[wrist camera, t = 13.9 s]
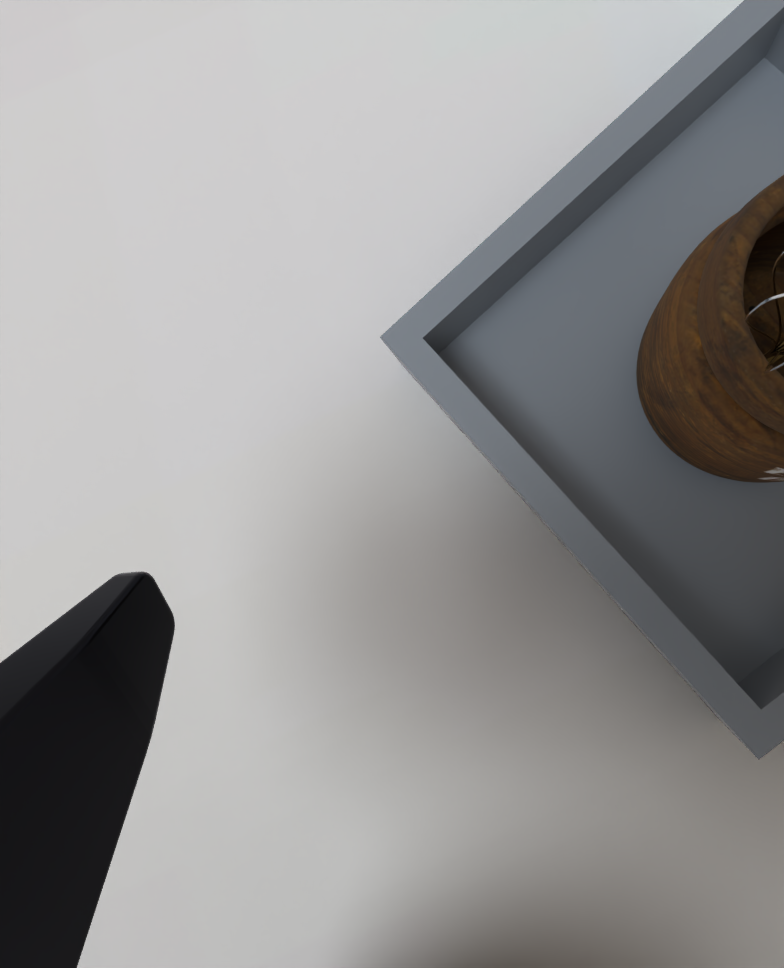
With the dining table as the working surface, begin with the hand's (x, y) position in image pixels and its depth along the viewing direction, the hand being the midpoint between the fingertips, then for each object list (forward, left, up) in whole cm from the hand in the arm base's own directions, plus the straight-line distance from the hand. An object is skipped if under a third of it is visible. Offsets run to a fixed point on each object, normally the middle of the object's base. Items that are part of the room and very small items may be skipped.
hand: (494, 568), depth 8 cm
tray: (+4, -7, -12) cm, 14 cm away
